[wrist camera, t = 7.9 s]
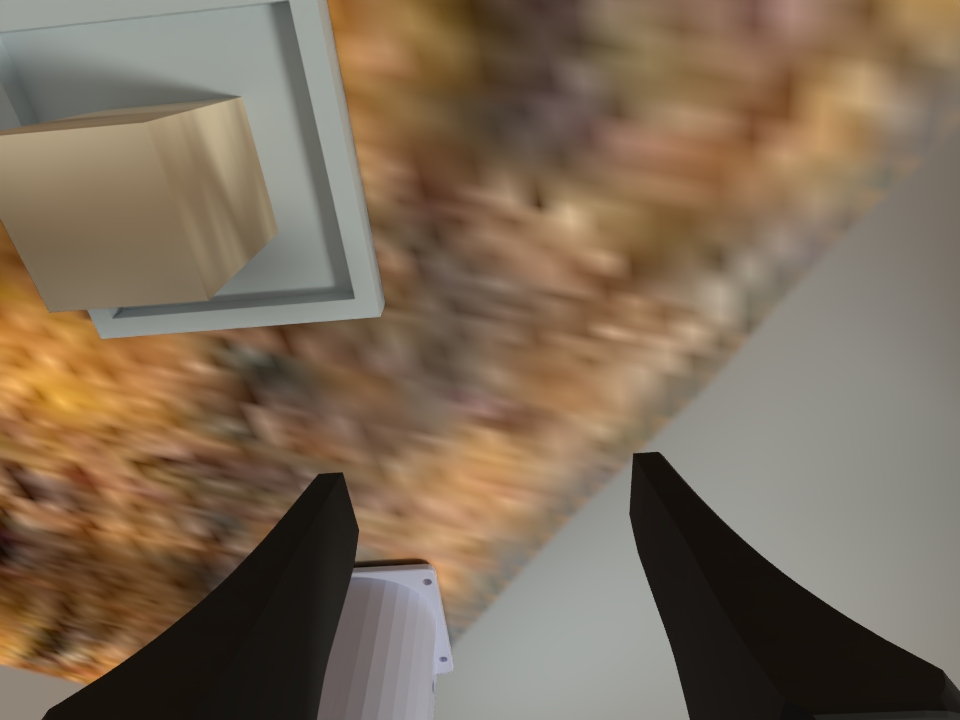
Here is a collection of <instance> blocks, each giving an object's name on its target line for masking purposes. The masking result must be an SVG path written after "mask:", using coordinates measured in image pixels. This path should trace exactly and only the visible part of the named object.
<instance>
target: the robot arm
mask: <svg viewBox="0 0 960 720" xmlns="http://www.w3.org/2000/svg"><path fill="white" fill-rule="evenodd" d="M629 514H630V519H631V523H632V528H633V533H634V537H635V541H636V546H637V550H638V554H639V557H640V560H641V563H642V565H643V568H644V571H645V574H646V577H647V580H648V583H649V585H650V588H651V591H652V594H653V597H654V600H655V602H656V605H657V608H658V611H659V614H660V616H661V619H662V622H663V624H664V628H665V630H666V633H667V636H668V639H669V642H670V645H671V648H672V652H673V655H674V658H675V662H676V666H677V670H678V674H679V677H680V682H681V685H682V689H683V693H684V697H685V701H686V705H687V710H688V714H689V718H690V720H960V691H959V690H958V689H957V687H956V686H955V685H954V684H953V682H952V681H951V680H950V679H949V678H948V676H947V675H946V674H945V673H944V671H943V670H941V669H940V668H938V667H936V666H934V665H932V664H930V663H928V662H926V661H925V660H923V659H921V658H919V657H917V656H915V655H913V654H911V653H910V652H908V651H906V650H904V649H902V648H900V647H898V646H896V645H894V644H893V643H891V642H889V641H887V640H885V639H883V638H882V637H880V636H878V635H876V634H875V633H873V632H872V631H870V630H868V629H867V628H865V627H863V626H861V625H860V624H858V623H856V622H855V621H853V620H851V619H850V618H848V617H847V616H845V615H843V614H842V613H840V612H839V611H837V610H836V609H834V608H833V607H831V606H830V605H828V604H826V603H825V602H824V601H822V600H821V599H819V598H818V597H816V596H815V595H813V594H812V593H811V592H809V591H808V590H806V589H805V588H803V587H802V586H800V585H799V584H797V583H796V582H795V581H793V580H792V579H791V578H789V577H788V576H787V575H785V574H784V573H782V572H781V571H780V570H779V569H778V568H776V567H775V566H774V565H773V564H771V563H770V562H769V561H768V560H766V559H765V558H764V557H763V556H761V555H760V554H759V553H758V552H757V551H756V550H754V549H753V548H752V547H751V546H750V545H749V544H748V543H746V542H745V541H744V540H743V539H742V538H741V537H740V536H739V535H738V534H736V533H735V532H734V531H733V530H732V529H731V528H730V527H729V526H728V525H727V524H726V523H725V522H724V521H723V520H722V519H720V517H719V516H717V514H716V513H715V512H714V511H713V510H712V509H711V508H710V507H709V506H708V505H707V504H706V503H705V502H704V501H703V500H702V499H701V498H700V497H699V496H698V495H697V494H696V493H695V492H694V491H693V489H691V487H690V486H689V485H688V484H687V483H686V482H685V481H684V480H683V478H682V477H681V476H680V475H679V474H678V473H677V472H676V470H675V469H674V468H673V467H672V466H671V465H670V463H669V462H668V461H667V460H666V459H665V457H664V456H663V455H661V453H659V452H650V453H633V465H632V482H631V498H630V513H629ZM358 534H359V528H358V525H357V521H356V518H355V514H354V511H353V507H352V504H351V500H350V497H349V493H348V490H347V486H346V483H345V479H344V475H343V472H341V473H326V474H318V476H317V477H316V478H315V479H314V480H313V481H312V482H311V484H310V485H309V486H308V487H307V488H306V490H305V491H304V492H303V493H302V495H301V496H300V497H299V498H298V499H297V501H296V502H295V503H294V504H293V506H292V507H291V508H290V509H289V510H288V512H287V513H286V514H285V515H284V516H283V518H282V519H281V520H280V521H279V522H278V523H277V525H276V526H275V527H274V528H273V529H272V530H271V532H270V533H269V534H268V535H267V536H266V537H265V538H264V540H263V541H262V542H261V543H260V544H259V545H258V546H257V547H256V548H255V549H254V550H253V551H252V553H251V554H250V555H249V556H248V557H247V558H246V559H245V560H244V561H243V562H242V563H241V564H240V565H239V566H238V567H237V568H236V569H235V570H234V571H233V572H232V573H231V574H230V575H229V576H228V577H227V578H226V579H225V580H224V581H223V582H222V583H221V584H220V585H219V586H218V587H217V588H216V589H215V590H213V591H212V592H211V593H210V594H209V595H208V596H207V597H206V598H205V599H204V600H202V601H201V602H200V603H199V604H198V605H197V606H196V607H194V608H193V609H192V610H191V611H189V612H188V613H187V614H186V615H184V616H183V617H182V618H181V619H180V620H178V621H177V622H176V623H175V624H173V625H172V626H171V627H170V628H168V629H167V630H166V631H165V632H163V633H162V634H161V635H160V636H158V637H157V638H156V639H154V640H153V641H152V642H150V643H149V644H148V645H146V646H145V647H144V648H142V649H141V650H140V651H138V652H137V653H135V654H134V655H133V656H131V657H130V658H128V659H127V660H125V661H124V662H122V663H121V664H120V665H118V666H117V667H115V668H114V669H112V670H111V671H109V672H108V673H106V674H105V675H103V676H102V677H100V678H99V679H97V680H96V681H94V682H92V683H91V684H89V685H88V686H86V687H84V688H83V689H81V690H80V691H78V692H76V693H75V694H73V695H72V696H70V697H69V698H67V699H65V700H64V701H62V702H61V703H59V704H57V705H56V706H54V707H52V708H51V709H49V710H48V711H47V713H46V714H45V716H44V717H43V719H42V720H434V707H435V693H436V680H437V674H443V673H450V672H452V671H453V667H454V662H453V657H452V652H451V647H450V642H449V636H448V631H447V626H446V621H445V616H444V611H443V606H442V600H441V595H440V590H439V585H438V580H437V575H436V570H435V568H434V567H433V566H432V565H429V564H415V565H397V566H379V567H361V568H354V562H355V556H356V549H357V542H358Z"/></svg>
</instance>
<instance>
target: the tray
mask: <svg viewBox="0 0 960 720" xmlns="http://www.w3.org/2000/svg"><path fill="white" fill-rule="evenodd" d="M235 97H242V99H243V102H244V106H245V110H246V113H247V117H248V121H249V124H250V128H251V132H252V136H253V139H254V143H255V147H256V150H257V154H258V158H259V161H260V165H261V169H262V172H263V176H264V180H265V183H266V187H267V191H268V194H269V198H270V202H271V206H272V209H273V213H274V217H275V220H276V224H277V228H278V231H279V233H278V234H277V235H276V236H275V237H274V238H273V239H272V240H271V241H270V242H268V243H267V244H266V245H265V246H264V247H263V248H262V249H261V250H260V251H259V252H258V253H257V254H256V255H255V256H254V257H253V258H252V259H251V260H250V261H249V262H248V263H247V264H246V265H245V266H244V267H243V268H242V269H241V270H240V271H239V272H238V273H237V274H235V275H234V276H233V277H232V278H231V279H230V280H229V281H228V282H227V283H226V284H225V285H224V286H223V287H222V288H221V289H220V290H219V291H218V292H217V293H216V294H215V295H214V296H213V297H212V298H211V299H210V300H209V301H198V302H184V303H171V304H158V305H144V306H131V307H118V308H104V309H91V310H87V311H88V313H89V315H90V317H91V319H92V321H93V323H94V325H95V327H96V329H97V331H98V333H99V335H100V337H101V339H106V338H119V337H132V336H144V335H157V334H169V333H182V332H195V331H207V330H220V329H232V328H245V327H257V326H270V325H283V324H295V323H308V322H320V321H333V320H346V319H358V318H371V317H380V316H381V314H382V311H383V308H384V305H385V300H384V295H383V290H382V284H381V279H380V274H379V269H378V264H377V259H376V253H375V248H374V243H373V238H372V233H371V228H370V222H369V217H368V212H367V207H366V202H365V196H364V191H363V186H362V181H361V176H360V171H359V165H358V160H357V155H356V150H355V145H354V140H353V134H352V129H351V124H350V119H349V114H348V108H347V103H346V98H345V93H344V88H343V83H342V77H341V72H340V67H339V62H338V57H337V52H336V46H335V41H334V36H333V31H332V26H331V20H330V15H329V10H328V5H327V0H0V131H3V130H8V129H13V128H18V127H23V126H28V125H33V124H38V123H43V122H48V121H52V120H57V119H62V118H67V117H72V116H77V115H82V114H87V113H92V112H97V111H102V110H107V109H117V108H127V107H138V106H149V105H160V104H171V103H181V102H192V101H203V100H214V99H225V98H235Z"/></svg>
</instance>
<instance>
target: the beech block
mask: <svg viewBox="0 0 960 720" xmlns="http://www.w3.org/2000/svg"><path fill="white" fill-rule="evenodd" d="M0 219H1V221H2V223H3V225H4V227H5V229H6V231H7V233H8V235H9V237H10V238H11V240H12V242H13V244H14V246H15V248H16V250H17V252H18V254H19V256H20V258H21V259H22V261H23V263H24V265H25V267H26V269H27V271H28V273H29V275H30V277H31V279H32V280H33V282H34V284H35V286H36V288H37V290H38V292H39V294H40V296H41V298H42V300H43V301H44V303H45V305H46V307H47V309H48V311H49V313H51V312H64V311H78V310H91V309H104V308H118V307H131V306H144V305H158V304H171V303H184V302H198V301H209V300H210V299H211V298H212V297H213V296H214V295H215V294H216V293H217V292H218V291H219V290H220V289H221V288H222V287H223V286H224V285H225V284H226V283H227V282H228V281H229V280H230V279H231V278H232V277H233V276H234V275H235V274H237V273H238V272H239V271H240V270H241V269H242V268H243V267H244V266H245V265H246V264H247V263H248V262H249V261H250V260H251V259H252V258H253V257H254V256H255V255H256V254H257V253H258V252H259V251H260V250H261V249H262V248H263V247H264V246H265V245H266V244H267V243H268V242H270V241H271V240H272V239H273V238H274V237H275V236H276V235H277V234H278V233H279V231H278V228H277V224H276V220H275V217H274V213H273V209H272V206H271V202H270V198H269V194H268V191H267V187H266V183H265V180H264V176H263V172H262V169H261V165H260V161H259V158H258V154H257V150H256V147H255V143H254V139H253V136H252V132H251V128H250V124H249V121H248V117H247V113H246V110H245V106H244V102H243V99H242V97H235V98H225V99H214V100H203V101H192V102H181V103H171V104H160V105H149V106H138V107H127V108H117V109H107V110H102V111H97V112H92V113H87V114H82V115H77V116H72V117H67V118H62V119H57V120H52V121H48V122H43V123H38V124H33V125H28V126H23V127H18V128H13V129H8V130H3V131H0Z"/></svg>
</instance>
